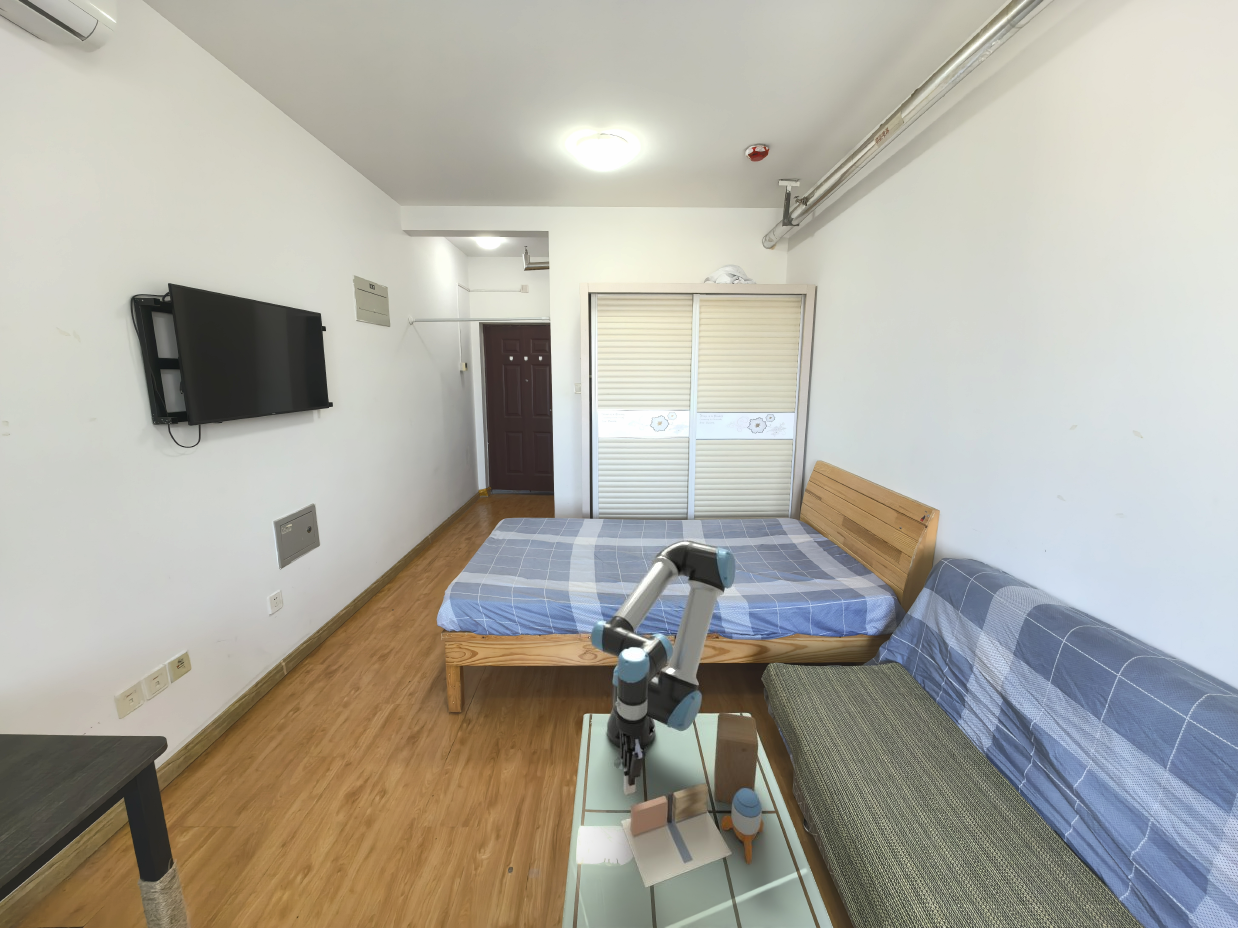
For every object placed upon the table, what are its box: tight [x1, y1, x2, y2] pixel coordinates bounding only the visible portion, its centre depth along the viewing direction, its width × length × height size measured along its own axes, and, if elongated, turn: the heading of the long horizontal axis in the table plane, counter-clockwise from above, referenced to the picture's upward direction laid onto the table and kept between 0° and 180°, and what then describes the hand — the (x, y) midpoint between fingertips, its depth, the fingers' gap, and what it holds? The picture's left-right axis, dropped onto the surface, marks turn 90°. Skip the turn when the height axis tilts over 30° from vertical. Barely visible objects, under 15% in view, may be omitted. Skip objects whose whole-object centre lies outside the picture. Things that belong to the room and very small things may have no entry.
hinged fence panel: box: [630, 795, 668, 836], centre depth 114 cm, size 9×2×7 cm, turn 109°
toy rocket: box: [720, 788, 764, 865], centre depth 112 cm, size 10×11×15 cm
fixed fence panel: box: [667, 782, 709, 823], centre depth 117 cm, size 11×2×9 cm, turn 109°
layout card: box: [620, 805, 733, 888], centre depth 112 cm, size 16×22×1 cm
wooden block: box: [713, 711, 759, 805], centre depth 124 cm, size 10×10×20 cm
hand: (629, 790), depth 119 cm, fingers closed
